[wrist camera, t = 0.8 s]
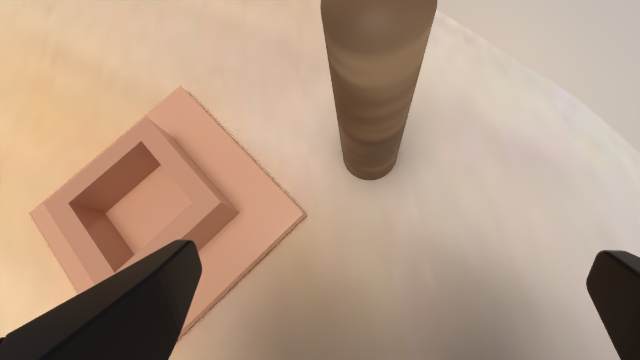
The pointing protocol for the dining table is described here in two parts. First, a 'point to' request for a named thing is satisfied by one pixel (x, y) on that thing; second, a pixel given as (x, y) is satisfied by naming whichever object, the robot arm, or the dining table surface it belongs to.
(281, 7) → the dining table surface
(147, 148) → the pink square stand base
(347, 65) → the thick brown pillar
